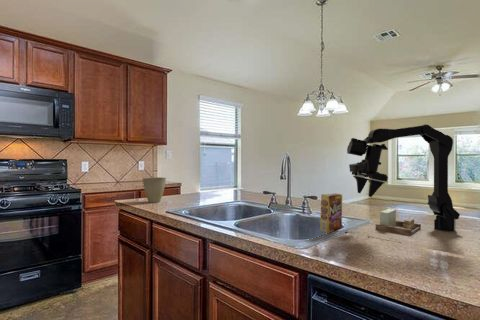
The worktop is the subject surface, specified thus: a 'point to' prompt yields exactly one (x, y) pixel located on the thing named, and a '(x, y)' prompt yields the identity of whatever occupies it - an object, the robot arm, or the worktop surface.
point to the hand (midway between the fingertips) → (364, 194)
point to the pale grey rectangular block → (388, 217)
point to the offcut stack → (409, 224)
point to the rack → (399, 228)
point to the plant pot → (154, 188)
